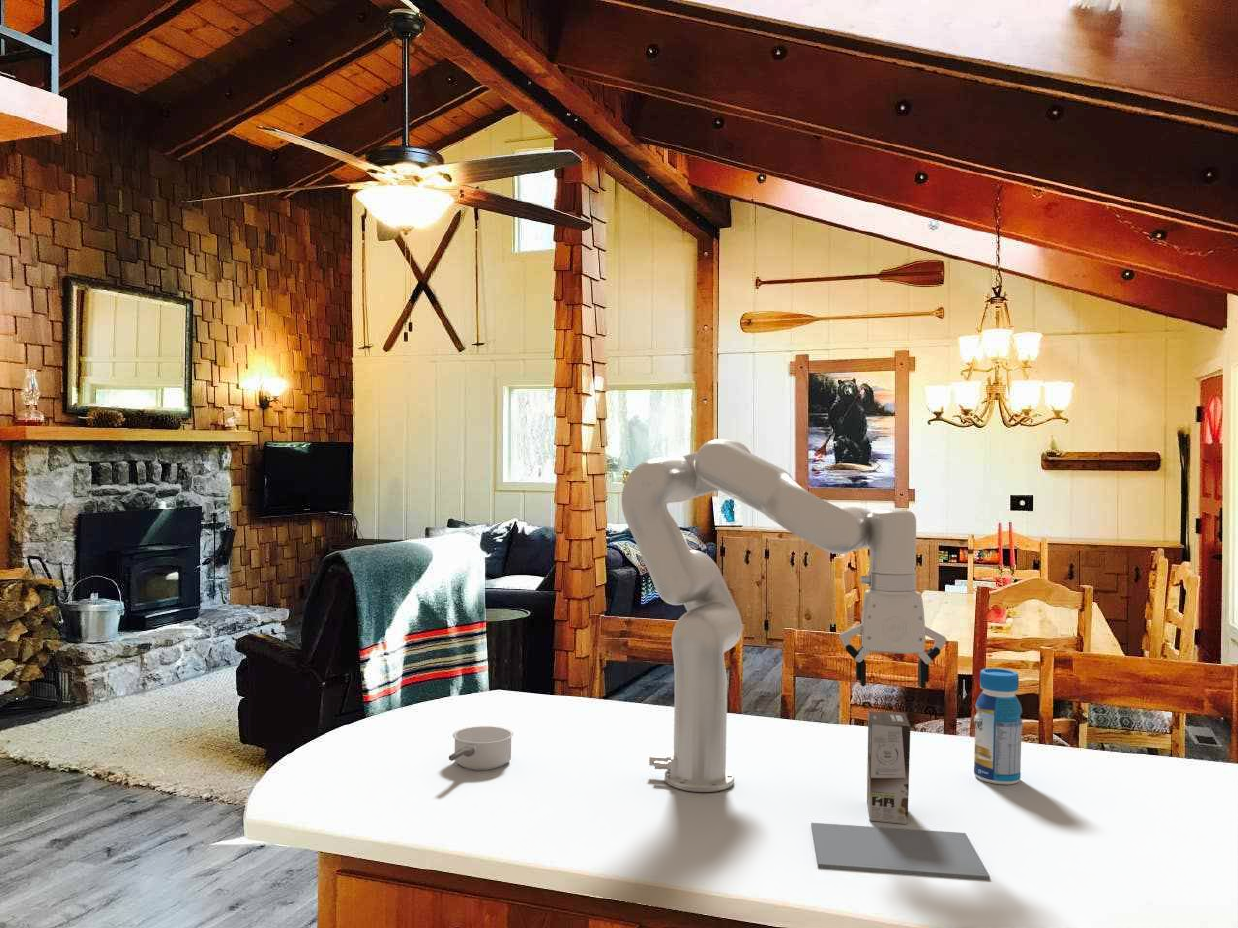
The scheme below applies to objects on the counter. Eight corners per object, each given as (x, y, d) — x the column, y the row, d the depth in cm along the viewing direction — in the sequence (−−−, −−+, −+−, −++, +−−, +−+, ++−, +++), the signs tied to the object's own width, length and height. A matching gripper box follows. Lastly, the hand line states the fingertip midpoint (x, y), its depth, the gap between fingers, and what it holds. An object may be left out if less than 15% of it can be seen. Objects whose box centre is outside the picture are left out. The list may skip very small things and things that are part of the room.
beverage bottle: (1016, 789, 177) (1019, 679, 177) (968, 780, 181) (970, 672, 181) (1025, 776, 184) (1027, 670, 184) (978, 767, 189) (980, 664, 188)
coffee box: (909, 825, 159) (911, 726, 159) (868, 821, 160) (870, 723, 160) (904, 805, 168) (906, 711, 168) (865, 801, 169) (867, 709, 169)
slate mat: (817, 867, 142) (818, 863, 142) (811, 825, 158) (811, 822, 158) (989, 879, 139) (989, 876, 139) (965, 835, 155) (965, 832, 155)
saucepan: (421, 784, 175) (421, 753, 174) (467, 751, 194) (467, 723, 194) (481, 791, 172) (481, 759, 171) (521, 756, 191) (522, 728, 191)
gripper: (841, 585, 161) (841, 688, 161) (950, 587, 159) (950, 692, 159) (837, 579, 168) (837, 678, 168) (941, 581, 166) (941, 682, 166)
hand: (891, 685), depth 164 cm, fingers open, 9 cm apart
